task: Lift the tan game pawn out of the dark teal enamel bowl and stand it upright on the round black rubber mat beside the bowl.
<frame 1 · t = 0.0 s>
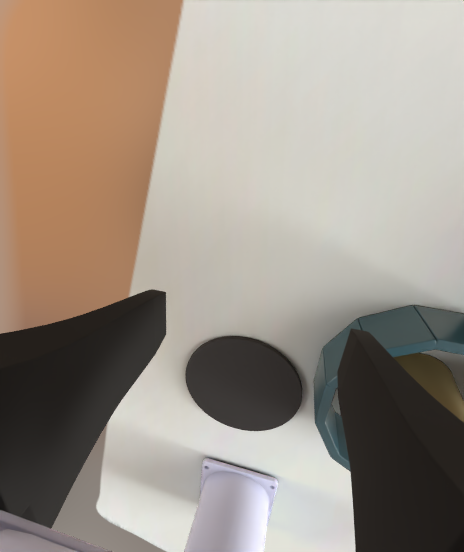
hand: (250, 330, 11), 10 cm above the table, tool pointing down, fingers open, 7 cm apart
tan game pawn: (406, 382, 22), resting in enamel bowl
black mat: (242, 384, 26), on the table
enamel bowl: (407, 384, 22), on the table
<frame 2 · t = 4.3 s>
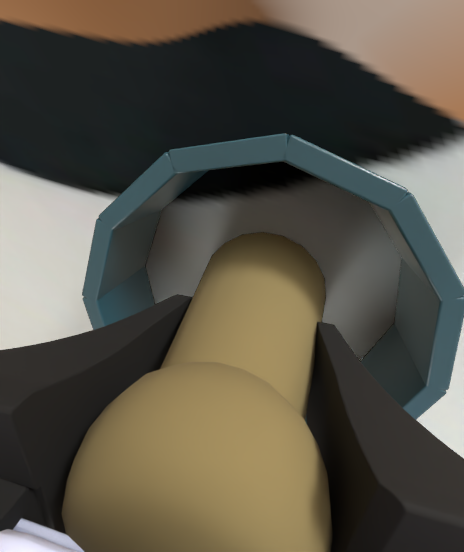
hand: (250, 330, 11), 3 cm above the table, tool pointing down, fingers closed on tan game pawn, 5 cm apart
tan game pawn: (262, 290, 14), resting in enamel bowl, touching gripper
enamel bowl: (261, 292, 14), on the table
when the fingers open (4 cm above the table, at t = 9.5 s): tan game pawn stays where it is, resting on black mat.
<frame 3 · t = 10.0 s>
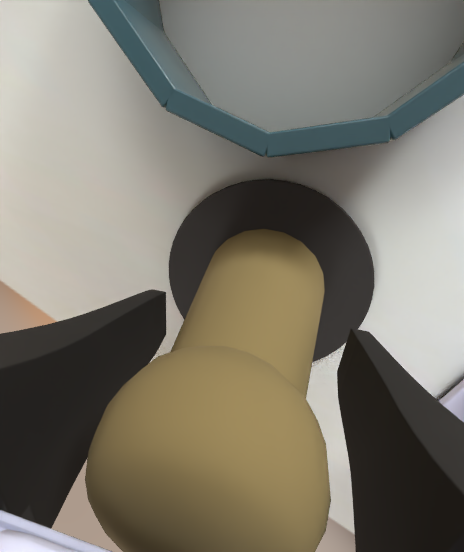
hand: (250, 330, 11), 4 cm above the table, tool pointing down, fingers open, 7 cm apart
tan game pawn: (263, 285, 15), resting on black mat
black mat: (264, 283, 15), on the table
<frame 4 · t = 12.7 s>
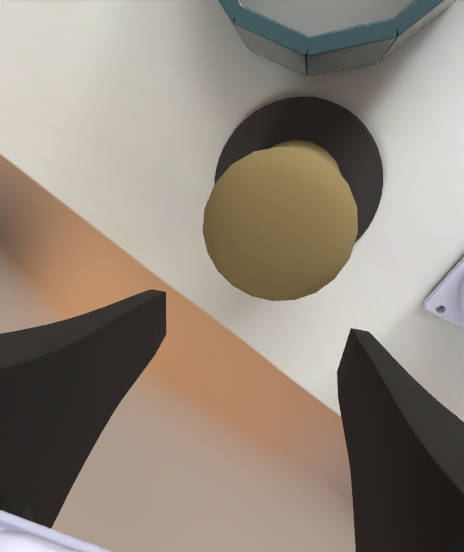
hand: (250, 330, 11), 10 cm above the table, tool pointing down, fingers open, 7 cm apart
tan game pawn: (292, 191, 19), resting on black mat
black mat: (292, 191, 19), on the table
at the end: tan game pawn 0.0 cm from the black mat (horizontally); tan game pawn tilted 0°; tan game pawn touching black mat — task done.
